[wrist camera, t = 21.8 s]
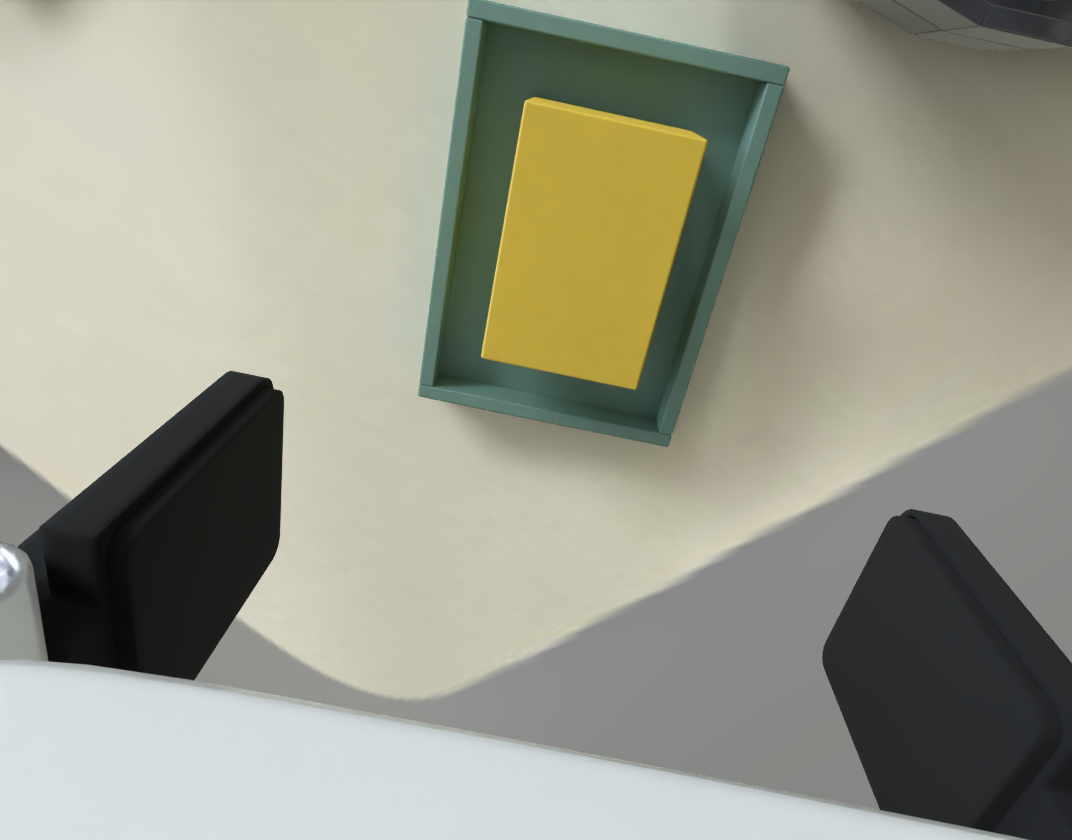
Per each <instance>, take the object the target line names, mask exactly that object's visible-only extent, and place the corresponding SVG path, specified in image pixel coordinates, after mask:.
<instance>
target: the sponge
mask: <svg viewBox="0 0 1072 840" xmlns="http://www.w3.org/2000/svg"><path fill="white" fill-rule="evenodd" d="M706 146H707V140H706V139H705V138H703V137H701V136H699V135H698V134H696V133H694V132H692V131H690V130H689V129H685V128H680V127H675V126H671V125H666V124H662V123H657V122H653V121H648V120H643V119H639V118H634V117H630V116H625V115H620V114H616V113H611V112H607V111H602V110H598V109H593V108H588V107H584V106H579V105H575V104H570V103H566V102H561V101H556V100H552V99H547V98H543V97H538V96H535V97H533V98H531V99H528V100H526V101H525V102H524V107H523V113H522V119H521V125H520V131H519V137H518V142H517V148H516V154H515V160H514V166H513V172H512V177H511V183H510V189H509V195H508V201H507V207H506V213H505V218H504V224H503V230H502V236H501V242H500V248H499V253H498V259H497V265H496V271H495V277H494V283H493V289H492V294H491V300H490V306H489V312H488V318H487V324H486V330H485V335H484V341H483V347H482V353H481V357H482V358H483V359H488V360H493V361H498V362H502V363H507V364H512V365H517V366H522V367H527V368H531V369H536V370H541V371H546V372H551V373H555V374H560V375H565V376H570V377H575V378H579V379H584V380H589V381H594V382H599V383H604V384H608V385H613V386H618V387H623V388H628V389H632V390H636V389H637V386H638V383H639V379H640V376H641V372H642V369H643V365H644V362H645V358H646V355H647V351H648V348H649V344H650V341H651V337H652V334H653V330H654V327H655V323H656V320H657V317H658V313H659V310H660V306H661V303H662V299H663V296H664V292H665V289H666V285H667V282H668V278H669V275H670V271H671V268H672V264H673V261H674V257H675V254H676V251H677V247H678V244H679V240H680V237H681V233H682V230H683V226H684V223H685V219H686V216H687V212H688V209H689V205H690V202H691V198H692V195H693V191H694V188H695V185H696V181H697V178H698V174H699V171H700V167H701V164H702V160H703V157H704V153H705V150H706Z"/></svg>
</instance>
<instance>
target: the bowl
mask: <svg viewBox="0 0 1072 840" xmlns="http://www.w3.org/2000/svg"><path fill="white" fill-rule="evenodd" d="M857 1H859V2H860V3H862V4H864V5H865V6H867V7H869V8H870V9H872V10H874V11H875V12H877V13H879V14H880V15H882V16H884V17H885V18H887V19H889V20H890V21H892V22H893V23H895V24H897V25H898V26H900V27H902V28H903V29H905V30H907V31H908V32H910V33H914V35H917V36H922V37H926V38H931V39H935V40H940V41H944V42H949V43H953V44H958V45H962V46H967V47H971V48H976V49H980V50H985V51H994V52H996V51H1014V50H1033V49H1051V48H1069V47H1072V0H857Z"/></svg>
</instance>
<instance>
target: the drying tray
mask: <svg viewBox="0 0 1072 840" xmlns="http://www.w3.org/2000/svg"><path fill="white" fill-rule="evenodd" d="M467 16H468V17H467V18H466V24H465V32H464V39H463V47H462V55H461V63H460V71H459V79H458V87H457V94H456V102H455V110H454V118H453V126H452V134H451V141H450V149H449V157H448V165H447V173H446V181H445V188H444V196H443V204H442V212H441V220H440V228H439V235H438V243H437V251H436V259H435V267H434V275H433V282H432V290H431V298H430V306H429V314H428V322H427V329H426V337H425V345H424V353H423V361H422V369H421V376H420V385H419V392H418V395H419V396H420V397H425V398H430V399H435V400H440V401H445V402H450V403H454V404H459V405H464V406H469V407H474V408H479V409H484V410H489V411H494V412H499V413H504V414H508V415H513V416H518V417H523V418H528V419H533V420H538V421H543V422H548V423H553V424H558V425H562V426H567V427H572V428H577V429H582V430H587V431H592V432H597V433H602V434H607V435H612V436H616V437H621V438H626V439H631V440H636V441H641V442H646V443H651V444H656V445H661V446H666V447H668V446H669V443H670V440H671V435H672V433H673V430H674V427H675V424H676V421H677V418H678V415H679V412H680V408H681V405H682V402H683V399H684V396H685V393H686V390H687V387H688V384H689V380H690V377H691V374H692V371H693V368H694V365H695V362H696V359H697V356H698V352H699V349H700V346H701V343H702V340H703V337H704V334H705V331H706V328H707V324H708V321H709V318H710V315H711V312H712V309H713V306H714V303H715V300H716V297H717V293H718V290H719V287H720V284H721V281H722V278H723V275H724V272H725V269H726V265H727V262H728V259H729V256H730V253H731V250H732V247H733V244H734V241H735V237H736V234H737V231H738V228H739V225H740V222H741V219H742V216H743V213H744V209H745V206H746V203H747V200H748V197H749V194H750V191H751V188H752V185H753V181H754V178H755V175H756V172H757V169H758V166H759V163H760V160H761V157H762V153H763V150H764V147H765V144H766V141H767V138H768V135H769V132H770V129H771V125H772V122H773V119H774V116H775V113H776V110H777V107H778V104H779V101H780V98H781V94H782V91H783V85H784V84H785V82H786V79H787V76H788V73H789V70H790V69H789V67H788V66H783V65H779V64H774V63H770V62H765V61H760V60H756V59H751V58H747V57H742V56H738V55H733V54H729V53H724V52H719V51H715V50H710V49H706V48H701V47H697V46H692V45H687V44H683V43H678V42H674V41H669V40H665V39H660V38H656V37H651V36H646V35H642V34H637V33H633V32H628V31H624V30H619V29H614V28H610V27H605V26H601V25H596V24H592V23H587V22H583V21H578V20H573V19H569V18H564V17H560V16H555V15H551V14H546V13H541V12H537V11H532V10H528V9H523V8H519V7H514V6H510V5H505V4H500V3H496V2H491V1H487V0H468V8H467ZM535 96H538V97H543V98H547V99H552V100H556V101H561V102H566V103H570V104H575V105H579V106H584V107H588V108H593V109H598V110H602V111H607V112H611V113H616V114H620V115H625V116H630V117H634V118H639V119H643V120H648V121H653V122H657V123H662V124H666V125H671V126H675V127H680V128H685V129H689V130H690V131H692V132H694V133H696V134H698V135H699V136H701V137H703V138H705V139H706V140H707V146H706V150H705V153H704V157H703V160H702V164H701V167H700V171H699V174H698V178H697V181H696V185H695V188H694V191H693V195H692V198H691V202H690V205H689V209H688V212H687V216H686V219H685V223H684V226H683V230H682V233H681V237H680V240H679V244H678V247H677V251H676V254H675V257H674V261H673V264H672V268H671V271H670V275H669V278H668V282H667V285H666V289H665V292H664V296H663V299H662V303H661V306H660V310H659V313H658V317H657V320H656V323H655V327H654V330H653V334H652V337H651V341H650V344H649V348H648V351H647V355H646V358H645V362H644V365H643V369H642V372H641V376H640V379H639V383H638V386H637V389H636V390H632V389H628V388H623V387H618V386H613V385H608V384H604V383H599V382H594V381H589V380H584V379H579V378H575V377H570V376H565V375H560V374H555V373H551V372H546V371H541V370H536V369H531V368H527V367H522V366H517V365H512V364H507V363H502V362H498V361H493V360H488V359H483V358H482V357H481V353H482V347H483V341H484V335H485V330H486V324H487V318H488V312H489V306H490V300H491V294H492V289H493V283H494V277H495V271H496V265H497V259H498V253H499V248H500V242H501V236H502V230H503V224H504V218H505V213H506V207H507V201H508V195H509V189H510V183H511V177H512V172H513V166H514V160H515V154H516V148H517V142H518V137H519V131H520V125H521V119H522V113H523V107H524V102H525V101H526V100H528V99H531V98H533V97H535Z"/></svg>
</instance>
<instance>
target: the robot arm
mask: <svg viewBox="0 0 1072 840" xmlns="http://www.w3.org/2000/svg"><path fill="white" fill-rule="evenodd" d="M283 416H284V396H283V393H282V391H280V390H275V389H273V384H272V381H271V380H270V379H269V378H264V377H259V376H254V375H249V374H244V373H239V372H234V371H229V372H227V373H225V374H224V375H223V376H222V377H220V378H219V379H218V380H217V381H216V382H214V383H213V384H212V385H211V386H210V387H208V388H207V389H206V390H205V391H203V392H202V393H201V394H200V395H199V396H197V397H196V398H195V399H194V400H193V401H191V402H190V403H189V404H188V405H187V406H185V407H184V408H183V409H182V410H180V411H179V412H178V413H177V414H176V415H174V416H173V417H172V418H171V419H170V420H168V421H167V422H166V423H165V424H164V425H162V426H161V427H160V428H159V429H157V430H156V431H155V432H154V433H153V434H151V435H150V436H149V437H148V438H147V439H145V440H144V441H143V442H142V443H141V444H139V445H138V446H137V447H136V448H134V449H133V450H132V451H131V452H130V453H128V454H127V455H126V456H125V457H124V458H122V459H121V460H120V461H119V462H118V463H116V464H115V465H114V466H113V467H111V468H110V469H109V470H108V471H107V472H105V473H104V474H103V475H102V476H101V477H99V478H98V479H97V480H96V481H95V482H93V483H92V484H91V485H90V486H88V487H87V488H86V489H85V490H84V491H82V492H81V493H80V494H79V495H78V496H76V497H75V498H74V499H73V500H72V501H70V502H69V503H68V504H67V505H66V506H64V507H63V508H62V509H61V510H59V511H58V512H57V513H56V514H55V515H53V516H52V517H51V518H50V519H49V520H47V521H46V522H45V523H44V524H42V525H41V526H40V528H39V529H38V530H37V531H36V532H35V533H33V534H32V535H31V536H30V537H29V538H28V539H26V540H25V541H24V542H23V543H21V544H20V545H19V546H18V547H16V546H14V545H12V544H9V543H5V542H1V541H0V840H1072V663H1071V662H1070V661H1069V659H1068V658H1067V657H1066V656H1065V654H1064V653H1063V652H1062V651H1061V650H1060V648H1059V647H1058V646H1057V645H1056V644H1055V642H1054V641H1053V640H1052V639H1051V638H1050V636H1049V635H1048V634H1047V633H1046V631H1045V630H1044V629H1043V628H1042V626H1041V625H1040V624H1039V623H1038V622H1037V621H1036V619H1035V618H1034V617H1033V616H1032V614H1031V613H1030V612H1029V611H1028V609H1027V608H1026V607H1025V606H1024V604H1023V603H1022V602H1021V601H1020V600H1019V598H1018V597H1017V596H1016V595H1015V594H1014V592H1013V591H1012V590H1011V589H1010V587H1009V586H1008V585H1007V584H1006V583H1005V581H1004V580H1003V579H1002V578H1001V576H1000V575H999V574H998V573H997V572H996V570H995V569H994V568H993V567H992V565H990V563H989V562H988V561H987V559H986V558H985V557H984V556H983V555H982V553H981V552H980V551H979V550H978V548H977V547H976V546H975V545H974V544H973V542H972V541H971V540H970V539H969V537H968V536H967V535H966V534H965V533H964V531H963V530H962V529H961V528H960V527H959V525H958V524H957V523H956V522H955V521H954V520H953V519H952V518H950V517H947V516H942V515H938V514H933V513H928V512H923V511H918V510H913V509H910V510H907V511H905V512H904V513H903V514H901V516H894V517H892V518H891V519H890V520H889V521H888V523H887V525H886V527H885V528H884V531H883V532H882V534H881V536H880V538H879V540H878V542H877V544H876V546H875V548H874V550H873V552H872V553H871V555H870V557H869V559H868V561H867V563H866V565H865V567H864V569H863V571H862V573H861V575H860V577H859V579H858V580H857V582H856V584H855V586H854V588H853V590H852V592H851V594H850V596H849V598H848V600H847V602H846V604H845V606H844V608H843V610H842V612H841V614H840V616H839V617H838V619H837V621H836V623H835V625H834V627H833V629H832V631H831V633H830V635H829V637H828V639H827V640H826V643H825V645H824V649H823V657H822V659H823V666H824V669H825V672H826V675H827V677H828V680H829V682H830V684H831V687H832V690H833V692H834V695H835V697H836V700H837V702H838V704H839V707H840V710H841V712H842V715H843V717H844V720H845V722H846V725H847V727H848V730H849V733H850V735H851V738H852V740H853V742H854V745H855V748H856V750H857V753H858V755H859V758H860V760H861V763H862V765H863V768H864V770H865V773H866V775H867V778H868V780H869V783H870V785H871V788H872V790H873V793H874V796H875V798H876V800H877V803H878V806H879V808H880V810H877V809H872V808H867V807H862V806H857V805H852V804H847V803H842V802H837V801H832V800H827V799H821V798H816V797H812V796H806V795H802V794H796V793H791V792H786V791H781V790H776V789H771V788H766V787H761V786H756V785H750V784H745V783H740V782H735V781H730V780H725V779H719V778H714V777H709V776H704V775H699V774H694V773H688V772H683V771H678V770H673V769H668V768H662V767H657V766H652V765H646V764H641V763H636V762H631V761H626V760H621V759H615V758H610V757H605V756H600V755H594V754H589V753H584V752H578V751H573V750H568V749H563V748H558V747H552V746H547V745H542V744H537V743H531V742H526V741H521V740H515V739H510V738H505V737H500V736H494V735H489V734H483V733H478V732H473V731H467V730H462V729H457V728H451V727H446V726H440V725H435V724H429V723H424V722H418V721H413V720H407V719H403V718H397V717H392V716H386V715H380V714H376V713H370V712H365V711H359V710H354V709H348V708H343V707H338V706H333V705H327V704H321V703H316V702H311V701H306V700H300V699H294V698H289V697H283V696H278V695H273V694H267V693H262V692H256V691H250V690H245V689H240V688H234V687H229V686H223V685H217V684H213V683H207V682H201V681H194V680H195V678H196V677H197V675H198V674H199V672H200V671H201V669H202V668H203V666H204V664H205V663H206V661H207V660H208V658H209V656H210V655H211V654H212V652H213V651H214V649H215V648H216V646H217V644H218V643H219V641H220V640H221V638H222V637H223V635H224V634H225V632H226V631H227V629H228V628H229V626H230V624H231V623H232V621H233V620H234V618H235V617H236V615H237V614H238V612H239V611H240V609H241V608H242V606H243V604H244V603H245V601H246V600H247V598H248V597H249V595H250V594H251V592H252V591H253V589H254V587H255V586H256V584H257V583H258V581H259V580H260V578H261V577H262V575H263V574H264V572H265V571H266V569H267V567H268V566H269V564H270V563H271V561H272V560H273V558H274V556H275V553H276V551H277V548H278V544H279V539H280V516H281V483H282V449H283Z"/></svg>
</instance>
